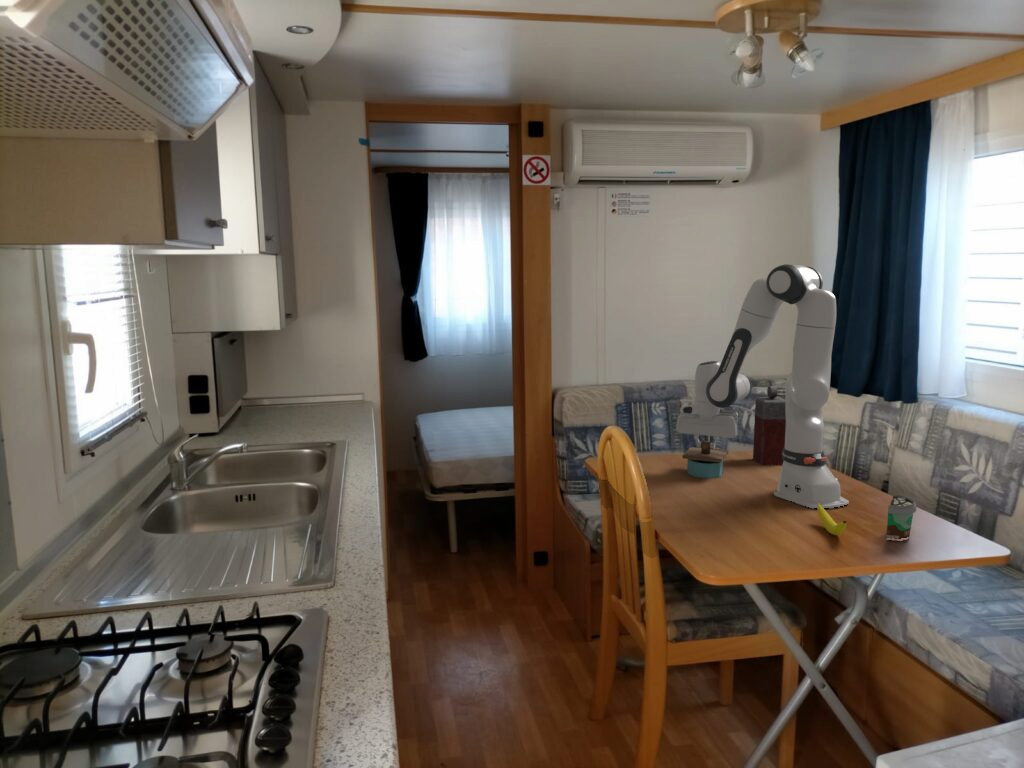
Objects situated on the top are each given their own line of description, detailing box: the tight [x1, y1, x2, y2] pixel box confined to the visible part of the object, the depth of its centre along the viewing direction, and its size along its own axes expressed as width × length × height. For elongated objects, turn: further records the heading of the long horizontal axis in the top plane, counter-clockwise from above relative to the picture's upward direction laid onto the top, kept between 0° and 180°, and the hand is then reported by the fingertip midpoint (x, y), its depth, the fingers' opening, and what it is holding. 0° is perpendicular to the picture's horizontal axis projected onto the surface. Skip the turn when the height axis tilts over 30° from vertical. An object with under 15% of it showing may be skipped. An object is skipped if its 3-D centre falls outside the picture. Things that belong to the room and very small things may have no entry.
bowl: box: [686, 459, 724, 479], centre depth 259 cm, size 11×11×5 cm
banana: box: [817, 503, 847, 536], centre depth 203 cm, size 3×19×6 cm, turn 178°
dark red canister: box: [752, 385, 786, 466], centre depth 272 cm, size 9×11×28 cm
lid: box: [681, 440, 729, 462], centre depth 258 cm, size 13×13×5 cm
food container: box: [885, 493, 917, 539], centre depth 199 cm, size 12×6×10 cm, turn 148°
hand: (705, 447), depth 258 cm, fingers closed on lid, 3 cm apart
